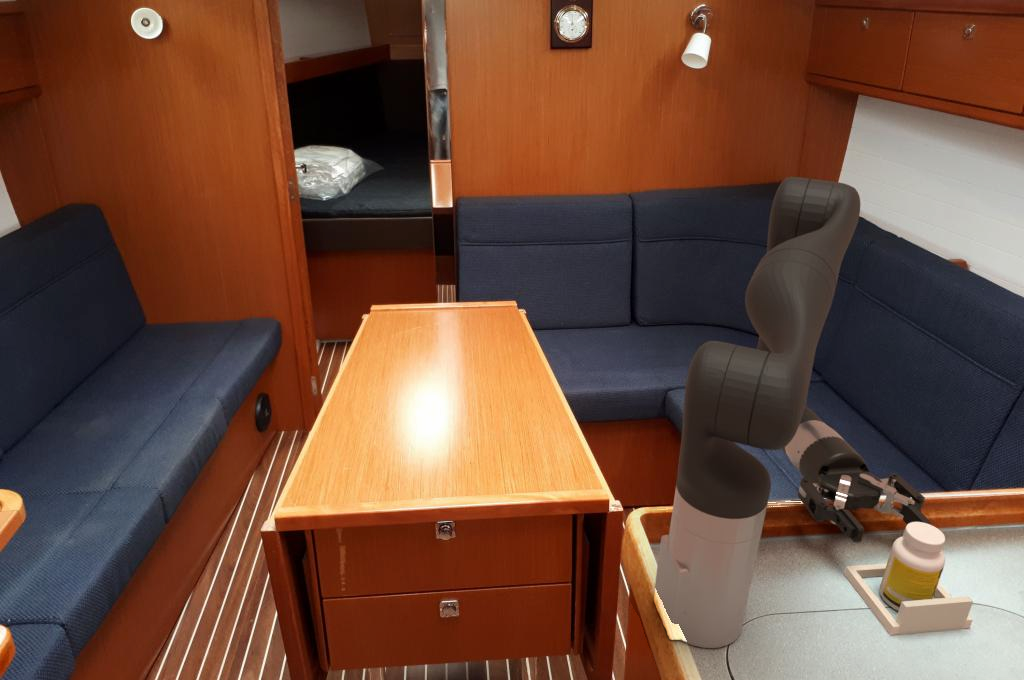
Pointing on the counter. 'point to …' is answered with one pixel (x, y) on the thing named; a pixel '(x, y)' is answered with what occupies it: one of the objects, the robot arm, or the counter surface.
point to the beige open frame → (912, 606)
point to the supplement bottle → (913, 565)
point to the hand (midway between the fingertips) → (893, 534)
